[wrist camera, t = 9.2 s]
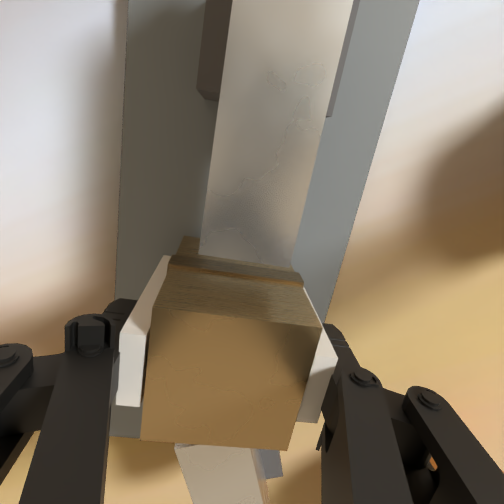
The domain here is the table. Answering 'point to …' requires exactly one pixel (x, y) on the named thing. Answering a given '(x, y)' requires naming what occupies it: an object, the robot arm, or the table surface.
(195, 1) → the shaft bench
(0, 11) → the table surface
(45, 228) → the table surface
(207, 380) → the tan cardboard block
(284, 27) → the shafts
